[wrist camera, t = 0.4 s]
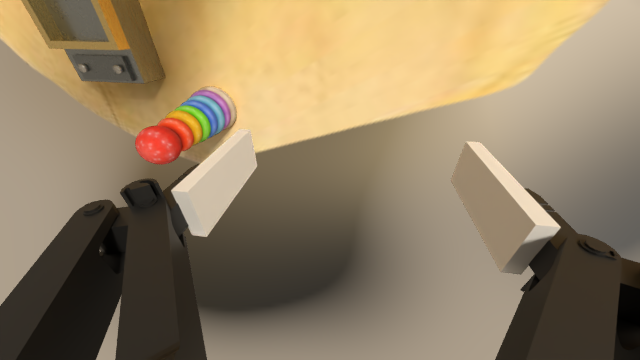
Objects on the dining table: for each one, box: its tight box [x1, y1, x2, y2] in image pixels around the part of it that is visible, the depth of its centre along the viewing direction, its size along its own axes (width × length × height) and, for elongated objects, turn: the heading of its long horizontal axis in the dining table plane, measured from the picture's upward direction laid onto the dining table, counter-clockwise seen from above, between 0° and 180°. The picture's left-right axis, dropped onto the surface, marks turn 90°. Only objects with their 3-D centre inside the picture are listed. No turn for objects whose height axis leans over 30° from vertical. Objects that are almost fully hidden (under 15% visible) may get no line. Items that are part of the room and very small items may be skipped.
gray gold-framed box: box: [21, 0, 165, 83], centre depth 35 cm, size 18×12×7 cm, turn 0°
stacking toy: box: [135, 86, 237, 164], centre depth 36 cm, size 8×8×19 cm
